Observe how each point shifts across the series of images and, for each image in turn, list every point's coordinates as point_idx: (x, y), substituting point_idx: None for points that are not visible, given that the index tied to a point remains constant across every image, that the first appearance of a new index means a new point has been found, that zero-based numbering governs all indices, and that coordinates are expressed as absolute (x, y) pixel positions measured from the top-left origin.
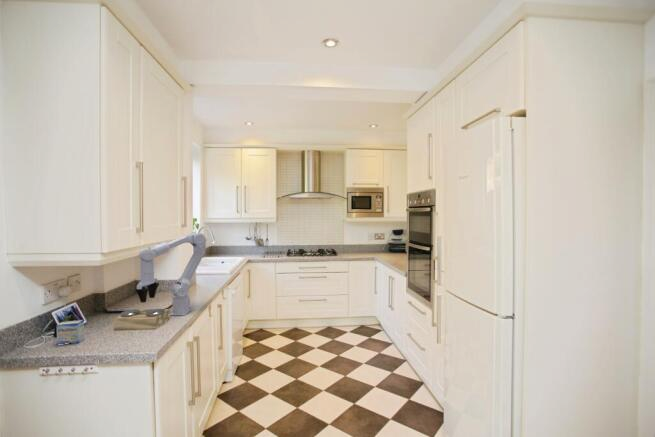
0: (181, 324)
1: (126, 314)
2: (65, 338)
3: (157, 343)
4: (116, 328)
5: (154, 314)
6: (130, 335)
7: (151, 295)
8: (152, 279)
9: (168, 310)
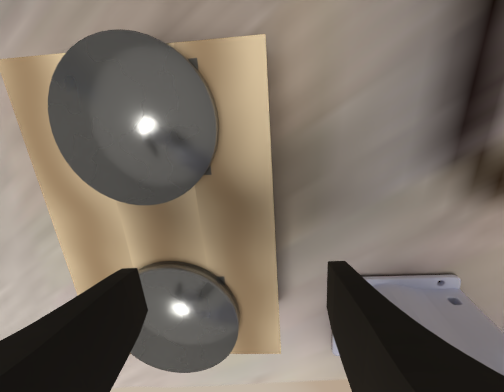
0: (202, 381)
1: (68, 136)
2: None
3: None
4: None
5: None
6: (33, 231)
7: (335, 307)
8: None
9: (266, 349)
